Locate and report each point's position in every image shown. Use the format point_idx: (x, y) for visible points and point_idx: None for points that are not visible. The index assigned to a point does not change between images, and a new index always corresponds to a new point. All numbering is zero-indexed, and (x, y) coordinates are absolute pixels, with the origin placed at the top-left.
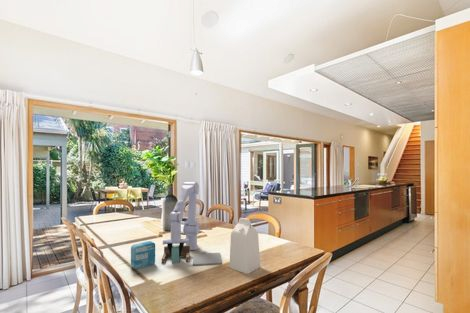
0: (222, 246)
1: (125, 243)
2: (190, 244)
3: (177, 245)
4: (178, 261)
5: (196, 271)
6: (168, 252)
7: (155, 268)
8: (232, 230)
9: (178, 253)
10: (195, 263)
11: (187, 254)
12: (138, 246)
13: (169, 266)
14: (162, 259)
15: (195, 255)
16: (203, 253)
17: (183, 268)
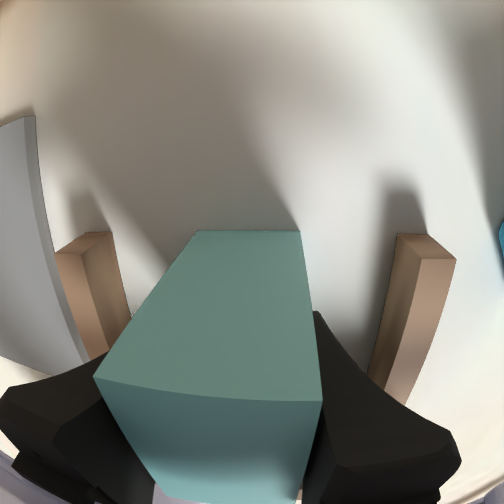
0: None
1: (497, 479)
2: (154, 492)
3: (197, 491)
4: (198, 235)
5: (18, 4)
6: None
7: (474, 83)
8: None
9: (154, 294)
10: (6, 141)
11: (99, 349)
12: None
13: (313, 95)
14: (440, 253)
15: (65, 351)
16: (33, 367)
17: (113, 31)
